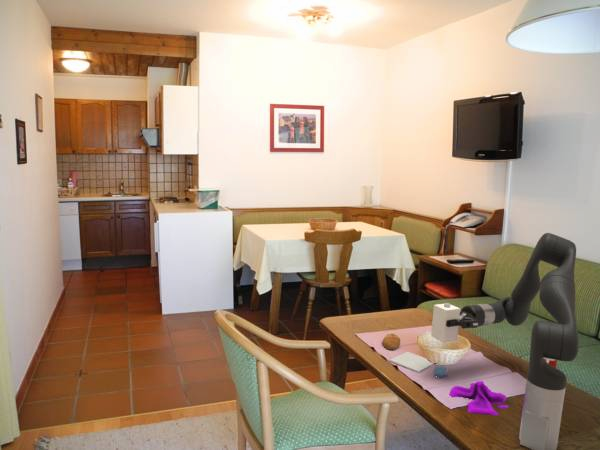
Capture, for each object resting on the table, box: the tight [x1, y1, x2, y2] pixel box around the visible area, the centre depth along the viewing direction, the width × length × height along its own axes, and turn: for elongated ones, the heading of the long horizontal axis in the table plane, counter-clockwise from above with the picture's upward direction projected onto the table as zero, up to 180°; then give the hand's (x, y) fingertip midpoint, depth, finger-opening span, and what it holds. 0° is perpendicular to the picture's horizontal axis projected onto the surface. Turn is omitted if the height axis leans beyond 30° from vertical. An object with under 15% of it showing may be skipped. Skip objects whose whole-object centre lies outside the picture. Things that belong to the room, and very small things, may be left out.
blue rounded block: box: [433, 364, 448, 379], centre depth 175 cm, size 4×4×3 cm
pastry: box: [382, 333, 401, 351], centre depth 199 cm, size 9×7×4 cm
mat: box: [388, 351, 433, 373], centre depth 185 cm, size 12×12×1 cm
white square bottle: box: [430, 302, 461, 343], centre depth 172 cm, size 6×6×12 cm
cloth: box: [448, 380, 509, 416], centre depth 161 cm, size 22×19×6 cm
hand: (440, 320), depth 171 cm, fingers closed on white square bottle, 6 cm apart
